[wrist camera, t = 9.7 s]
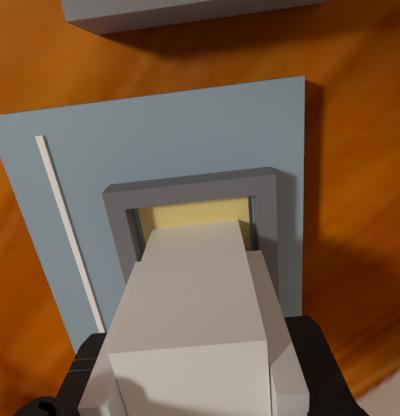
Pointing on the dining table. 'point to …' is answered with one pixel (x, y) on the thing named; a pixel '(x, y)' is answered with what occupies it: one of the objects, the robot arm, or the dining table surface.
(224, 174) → the board
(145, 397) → the plug
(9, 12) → the dining table surface
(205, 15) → the grey push button box
